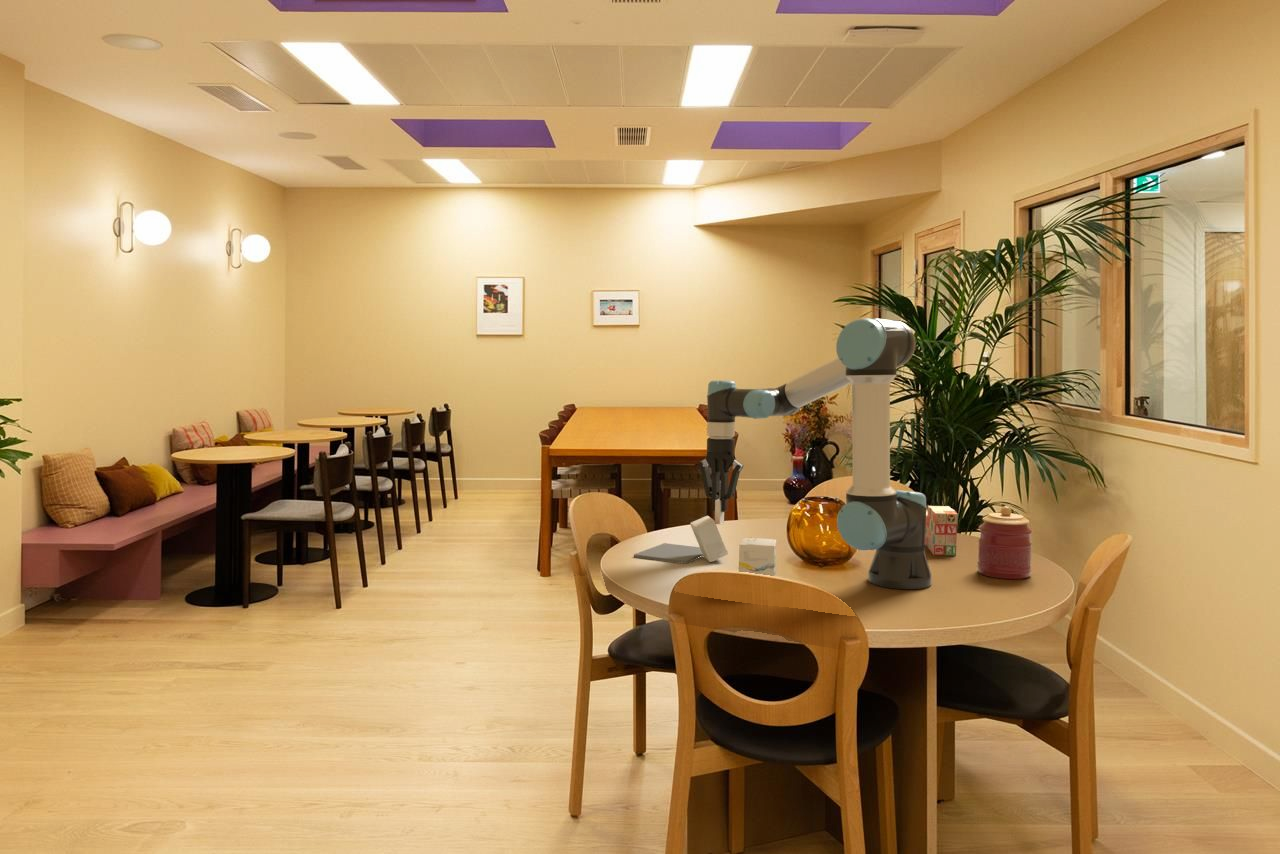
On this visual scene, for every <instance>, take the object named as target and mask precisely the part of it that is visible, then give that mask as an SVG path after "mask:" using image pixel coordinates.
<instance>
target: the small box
mask: <svg viewBox="0 0 1280 854" xmlns="http://www.w3.org/2000/svg"><path fill="white" fill-rule="evenodd" d="M689 524H690V527H691V529H692V532H693V534H694V537H695V540H696V542H697V543H698V547H700V549H701V552H702V554H703V558H705V559H706V560H707V561H708V562H709V563H710V562H711V563H712V562H714V561H717V560H719V559H722V558H724V557H726V556H727V555H729V553H728V551H727V547H726V546H725V543H724V541H723V538H722V535H721V534H720V531H719V529H718V527H717V524H716V523H715V519H713V518H712V517H710V516H709V515H706V516H703V517H701V518H699V519H696V520H693V521H691V522H690V523H689Z"/></svg>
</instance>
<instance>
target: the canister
mask: <svg viewBox="0 0 1280 854" xmlns="http://www.w3.org/2000/svg"><path fill="white" fill-rule="evenodd" d="M982 521H983V523H982V524H980V525H979V526H978V529H979V531H980V536H979V538H978V539H977V541H978V556H977V557H978V559H977V560H978V561H977V566H976V567H977V570H978V573H979V574H981V575H984V576H986V577H991V578H995V579H996V578H997V579H1004V580H1021V579H1027V578H1029V577H1031V576H1030V575H1031V572H1032V566H1031V564H1032V563H1031V562H1032V561H1031V559H1032V546H1033V542H1032V541H1031V534H1033V532H1034V531H1033V529H1032V528H1031V527H1029V524H1030V520H1029V519H1027V518H1026V517H1024V515H1021V514H1019V513H1018V514H1017V513H1012V508H1011V507H1009V506H1008V505H1007V506H1006V505H1005V506H1002V507H1001V509H1000V512H990V513H988V514H987V515H985V516H983V517H982Z"/></svg>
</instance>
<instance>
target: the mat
mask: <svg viewBox="0 0 1280 854" xmlns="http://www.w3.org/2000/svg"><path fill="white" fill-rule="evenodd" d="M700 556H703V554H702V552H701V549H700V547H699V546H691V545H683V544H675V543H667V542H666V543H665V542H664V543H662V544H659V545H656V546H653V547H651V548H647V549H645V550H641V551H640V552H639V551H638V552H637V553H634V554H633V558H638V559H644V560H652V559H653V561H659V560H661V561H662V562H667V561H669V562H668V563H675V562H680V563H679V564H683V563H686V564H688V563H687V562H689V561H691V560H693V561H695V560H694V559H696V558H698V557H700ZM703 557H704V556H703ZM700 558H701V557H700ZM698 559H699V558H698ZM696 560H697V559H696ZM661 561H660V562H661ZM681 562H682V563H681ZM691 562H692V561H691ZM689 563H690V562H689Z"/></svg>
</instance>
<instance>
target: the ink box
mask: <svg viewBox="0 0 1280 854" xmlns="http://www.w3.org/2000/svg"><path fill="white" fill-rule="evenodd" d="M738 552H739V553H738V573H739V572H749V573H755V574H763V575H770V576H776V575H777V569H776V568H777V539H776V538H775V539H772V538H760V537H759V538H757V537H749V538H748V537H747V538H745V537H743V538H742V539H741V541H740V543H739V551H738Z"/></svg>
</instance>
